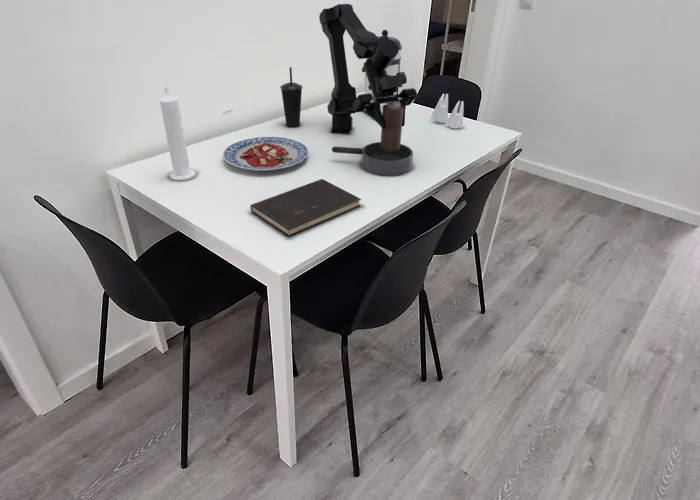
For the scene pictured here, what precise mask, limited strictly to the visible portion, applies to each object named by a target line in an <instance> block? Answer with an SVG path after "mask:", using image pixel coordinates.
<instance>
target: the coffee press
mask: <svg viewBox="0 0 700 500" xmlns="http://www.w3.org/2000/svg"><path fill="white" fill-rule="evenodd" d="M388 35H389V31H388V30H387V29H383V30H382V32H381V35H379V36H378V35H377V37H378V38H379V39H380V37H381V36H388ZM388 39H390V40H392V41H393V42H395V44H396V45H397V46H398V49H399V50H398V54H397V55H396V57H395V58H394V60H393V61H392V62H391V64H390V65H389V67H387V68H385V69H386V72H387V75H390V76H394V75H396V74H397V73H399V72H401V61H402V60H401V58H402V57H401V52H402V49H403V45H402V43H401V41H400V40H399V39H398V38H396V37H394V36H388ZM367 59H369V58H366V59H365V62H366V61H367ZM369 85H370V84H369V81H368V78H367V75H366V74H365V93H364V94H368V93H370V94H372V97H374V96H373V93H372V90H369V88H368V86H369ZM398 94H399V87H398V88H397V91H396V92H394V95H398ZM384 105H386V103H383V104H380V110H381V113H382V114H383V106H384ZM364 111H365V110H364ZM364 111H363V112H362V113H364Z"/></svg>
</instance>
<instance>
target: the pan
mask: <svg viewBox="0 0 700 500" xmlns="http://www.w3.org/2000/svg"><path fill="white" fill-rule="evenodd" d="M380 145H381V141H376V142H371V143H368V144H365V145H364V147H362V149H366V150H367V154H365V152H364V150H362V155H361V167H362V168H363V170H365V171H366V172H368V173H370V174H374V175H376V176H377V175H378V176H384V177H394V176H400V175H404V174H407V173H409V172H410V171H411V170H412V166H413V159H414V158H413V157H414V150H412V148H411V147H409V146H407V145H405V144H404V143H403V144H402V143H400V149H399V150H396V151H386V150H383V149H381V147H380Z"/></svg>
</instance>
